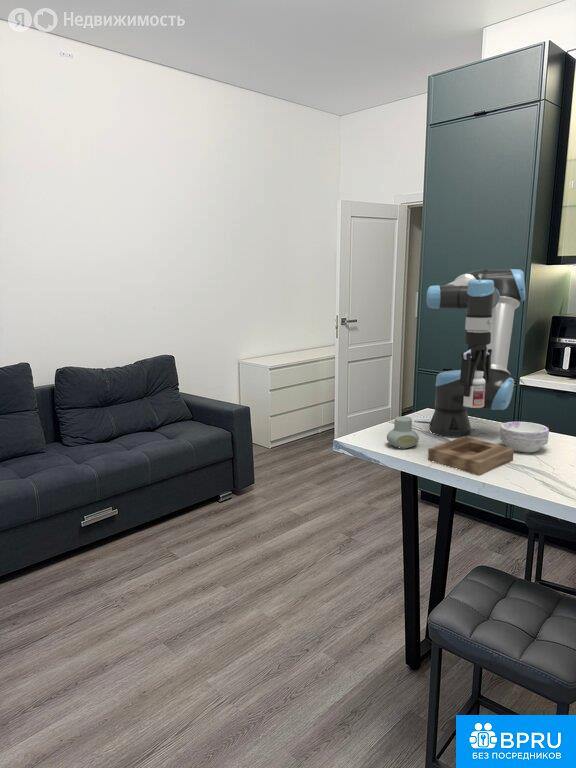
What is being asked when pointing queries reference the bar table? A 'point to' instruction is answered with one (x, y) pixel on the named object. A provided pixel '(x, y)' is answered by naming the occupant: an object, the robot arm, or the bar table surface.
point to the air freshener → (403, 433)
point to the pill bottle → (478, 389)
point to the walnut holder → (471, 455)
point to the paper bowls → (524, 436)
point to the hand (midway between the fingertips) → (473, 404)
